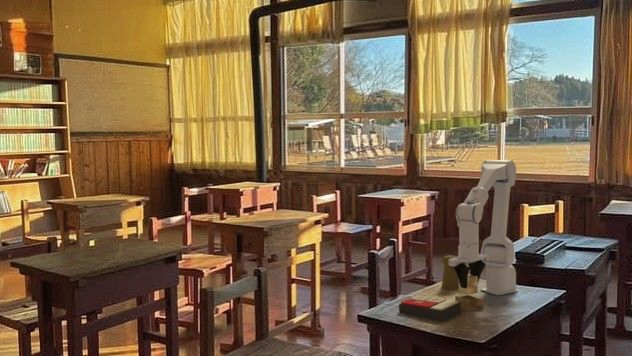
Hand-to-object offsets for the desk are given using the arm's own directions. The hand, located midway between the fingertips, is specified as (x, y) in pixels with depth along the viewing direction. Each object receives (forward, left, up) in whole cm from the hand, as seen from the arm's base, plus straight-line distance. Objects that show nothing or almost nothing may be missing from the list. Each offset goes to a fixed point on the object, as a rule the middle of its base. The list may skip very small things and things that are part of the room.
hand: (469, 286), depth 185 cm
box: (-20, -23, -7) cm, 31 cm away
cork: (-11, -21, -7) cm, 25 cm away
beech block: (0, 0, -2) cm, 2 cm away
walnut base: (0, 0, -7) cm, 7 cm away
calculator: (+14, -2, -7) cm, 16 cm away
